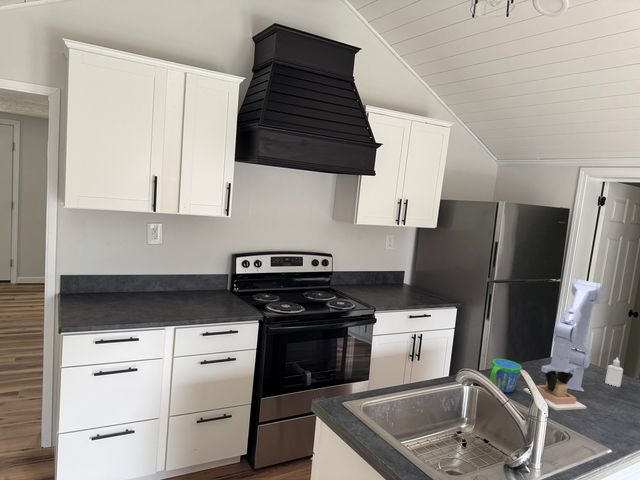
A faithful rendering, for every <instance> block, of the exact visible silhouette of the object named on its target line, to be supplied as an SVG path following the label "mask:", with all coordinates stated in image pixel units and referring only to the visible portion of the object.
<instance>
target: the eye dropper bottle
mask: <svg viewBox="0 0 640 480" xmlns="http://www.w3.org/2000/svg"><path fill="white" fill-rule="evenodd" d="M620 365H621V361H620V360H619V357H616V358H615V359H613V360H612V364H609V365H607V369H606V375H605V379H604V380H605V381H604V383H605V385H608V384H609V386H611V385H612V387H615V386H616V387H615V388H620V387H621V385H622V381H623V379H622V378H623V374H624V368H622V367H621V366H620Z"/></svg>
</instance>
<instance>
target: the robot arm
mask: <svg viewBox="0 0 640 480" xmlns="http://www.w3.org/2000/svg"><path fill="white" fill-rule="evenodd" d="M571 293H572V296H573V299H572V301H571V305H570V307H569V308H566V309H565V311H564V313H563V316H562V317H561V319H560V321H559V322H557V323H555V326H554V331H553V342H554V344H553V351H552V356H551V361H550V362H551V363H550V364H546V365H542V366H541V370H540V371H541V372H543V373H544V375H545V379H546V380H547V385H548V390H550V391H554V389H555V385H556V382H557V380H559V381H560V382H562V383H564V384H566V385H568V387H567V390H572V391H578V392H585V389H584V388H583V387H582V385H583V384H582V382H583V377H584V371H585V369H587V368H589V367H590V363H591V359H592V350H591V348H590V346H588V345H587V344H586V340H587V334H588V330H589V327H590V322H591V317H592V312H593V308H594V306H595V305H597V304H600V301H601V299H602V294H603V284H602V283H600V282H594V281H589V280H583V279H578V278H575V279H574V280H573V282H572V285H571Z"/></svg>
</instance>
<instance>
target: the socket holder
mask: <svg viewBox="0 0 640 480" xmlns="http://www.w3.org/2000/svg"><path fill="white" fill-rule="evenodd" d="M536 386H537V388H538V389H539V391H540V393H541V394H542V396H543V397H544V398H545V400H546V402H547V404H548V405H547V406H548V407H550V408H551V409H552V410H555V411H569V410H570V411H572V410H586V409H587V406H586V405H584V404H583V403H580V402H579V401H577V397H576V396H574V395H572V394H570V393H568V392H567V393H566V397H556V396H554V395H552V394H550V393H549V392H547V391H545V386H546V384H545V385H542V384H541V385H536ZM528 388H529V387H527V388H523V391H524V392H525V393H527V394H528V395H530V396H532V395H531V393H530V391H529V389H528Z"/></svg>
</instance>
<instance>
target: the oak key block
mask: <svg viewBox="0 0 640 480" xmlns="http://www.w3.org/2000/svg"><path fill="white" fill-rule="evenodd" d="M545 385H546V386H545V391H547V392H549V393H550V394H552V395H554V396H556V397H566V393H568V389H567V387H568V385H566V384H564V383H562V382H560V381H559V380H557V382H556V385H555V389H554V391H550V390H548V385H547V379H546V382H545Z"/></svg>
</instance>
